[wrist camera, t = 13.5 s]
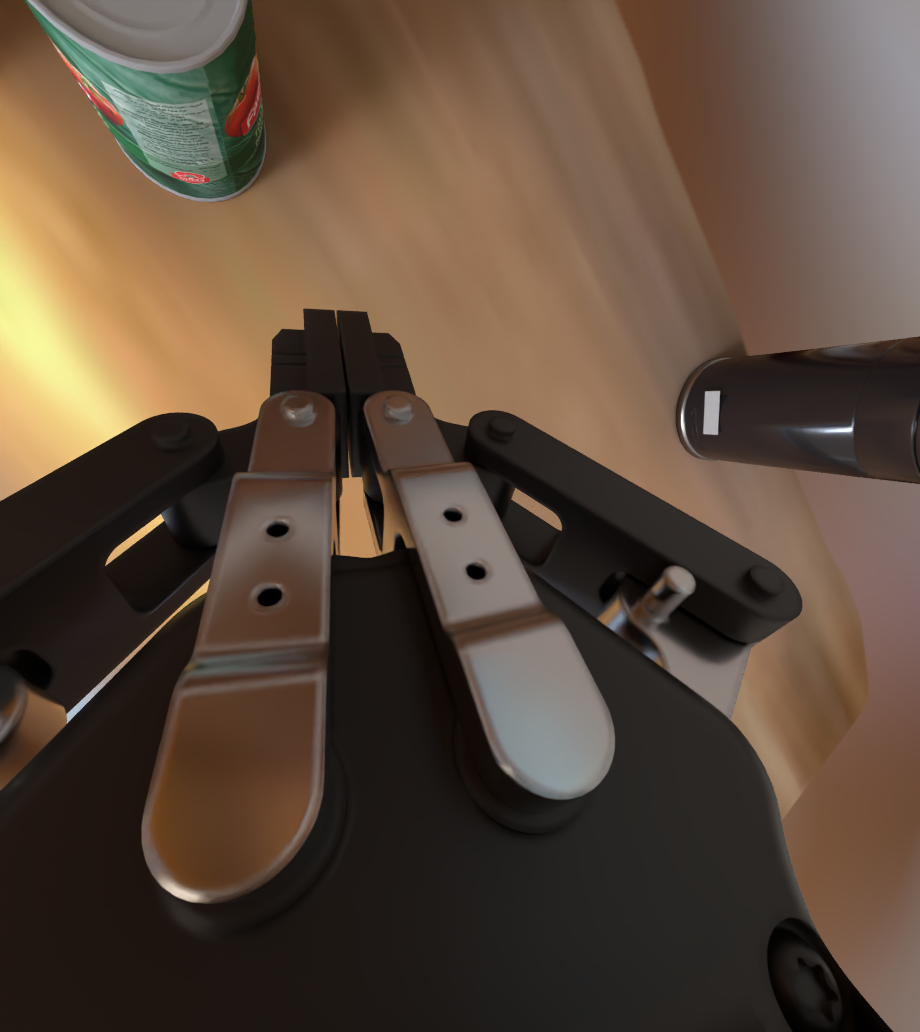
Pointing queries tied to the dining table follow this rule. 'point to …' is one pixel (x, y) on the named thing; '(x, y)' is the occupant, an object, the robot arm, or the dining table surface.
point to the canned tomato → (170, 85)
